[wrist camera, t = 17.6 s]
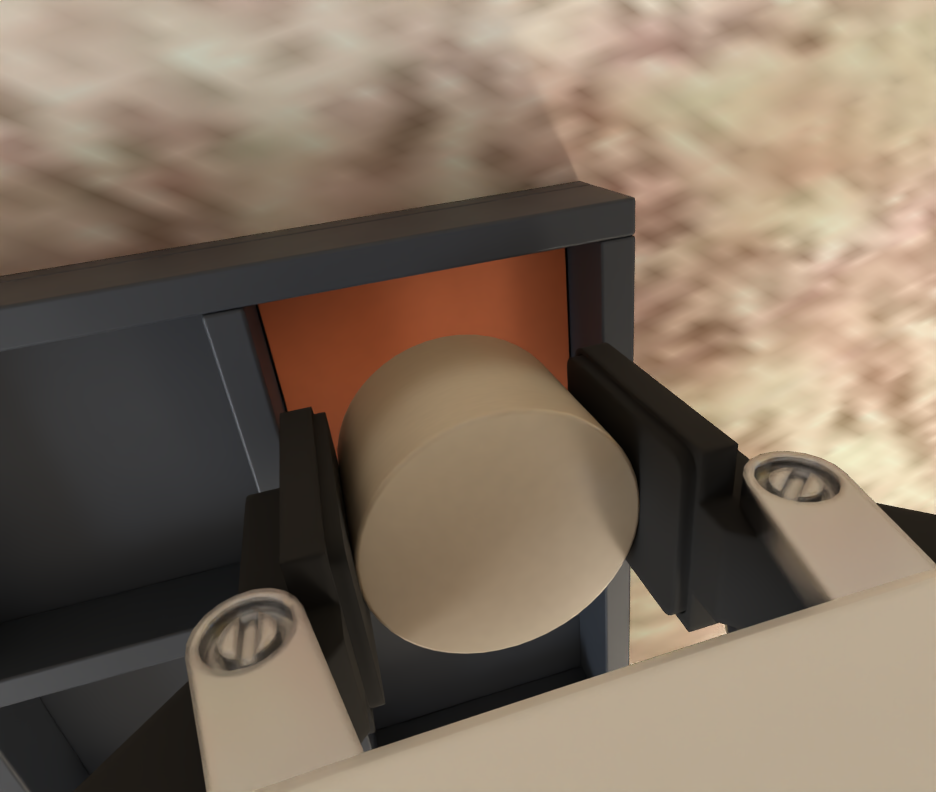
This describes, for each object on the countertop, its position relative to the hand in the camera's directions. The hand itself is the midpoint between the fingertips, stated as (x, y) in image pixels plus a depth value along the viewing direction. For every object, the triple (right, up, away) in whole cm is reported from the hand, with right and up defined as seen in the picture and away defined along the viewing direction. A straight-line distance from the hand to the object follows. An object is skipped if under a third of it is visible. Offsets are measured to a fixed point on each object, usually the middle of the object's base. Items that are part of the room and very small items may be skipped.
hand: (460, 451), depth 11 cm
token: (0, 0, 0) cm, 0 cm away
